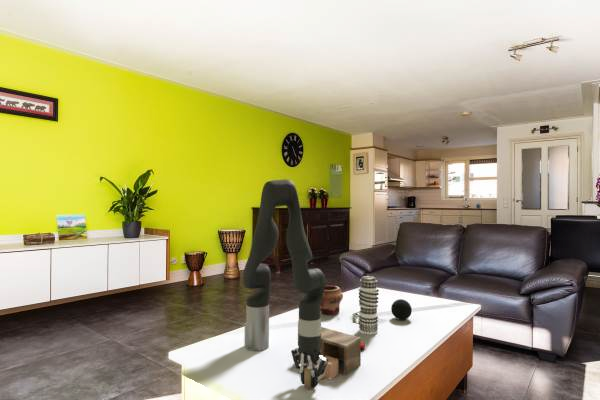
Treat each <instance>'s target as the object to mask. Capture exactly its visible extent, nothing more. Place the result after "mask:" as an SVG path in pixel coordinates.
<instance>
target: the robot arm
mask: <svg viewBox="0 0 600 400" xmlns="http://www.w3.org/2000/svg"><path fill="white" fill-rule="evenodd" d="M260 195H261V197H260V204H259V211H258V217H257V220H256V221H257V222H256V226H255V229H254V232H253V237H252V240H251V247H250V251H249V254H248V257H247V261H246V263H245V266H244V269H243V272H242V284H243V286H244V288H245V289H247V290H249V289H250V290H253V289H255V290H256V289H258V290H257V291H255V293H253V294H251V295H249V296H247V298H246V311H245V312H246V318H245V319H246V321H245V322H244V347H246V349H247V350H249V351H252V352H253V351H255V352H256V351H257V352H258V351H259V352H260V351H263V350H267V349H268V348H269V346H270V343H269V342H270V341H269V340H270V298H271V279H272V277H271V276H272V275H271V269H270V267H269V266H268V265H267V264H262V263H263V262H264V261H265V260H266V259H267V258H268V257H269V256H271V254H272V253H273V252H274V251H275V249H276V247H277V244H278V241H279V236H280V231H279V228H278V225H277V224H276V222H275V221H274V218H273V216H274V210H276V208H279V207H285V206H286V208H287V210H288V215H289V216H288V217H289V219H288V225H287V230H286V234H285V235H286V237H285V241H286V247H287V249H288V253H289V255H290V258H291V265H292V266H291V269H292V279H293V280H292V281H293V285H294V286H295V287H294V288H295V289H297V291H298V292H300V293H301V294H305V296H304V297H302V298H301V300H300V301H299V303H298V321H297V346H298V347H296V348H293V349H292V350H291V351H290V353H291V356H292V361H293V362H294V366H295V369H296V370H299V372H300V382H301V384H302V385H304V368H305V367H306V366H309V368H310V369H311V375H312V376H311V388H313V389H315V388H316V387H317V386H318V385H319V380H318V377H319V376H320V375H322V374H323V373H324V371H325V368H326V366H327V363H328V361H329V360H328V358H324V357H323V356H321V351H320V348H321V327H322V319H321V318H322V317H321V314H322V313H321V310H320V309H321V308H320V305H321V301H322V298H323V293H324V289H325V286H326V277H325V274H324V273H323V271H322V270H321V269H320V268H315V267H314V268H308V263H309V262H310V261H312V259H313V253H312V250H311V247H310V243H309V241H308V238H307V235H306V232H305V228H304V222H303V217H302V210H301V205H300V199H299V195H298V190H297V187H296V185H295V183H294V182H293V181H292V180H291V179H287V178H286V179H276V180H275V179H274V180H269V181H266V182H265V183H264V185H263V186H262V192H261V194H260ZM318 360H320V361H319V363H318ZM319 364H320V365H319ZM318 367H319V368H318Z"/></svg>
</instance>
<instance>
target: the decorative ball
mask: <svg viewBox="0 0 600 400" xmlns="http://www.w3.org/2000/svg"><path fill="white" fill-rule="evenodd" d="M390 311H391V313H392V315H393V317H394V318H395V319H397V320H400V321H404V320H407V319H409V318H410V317H411V315H412V306H411V304H410V303H409V301H407V300H405V299H402V298H401V299H396V300H395V301H393V303H392V304H391V310H390Z"/></svg>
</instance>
